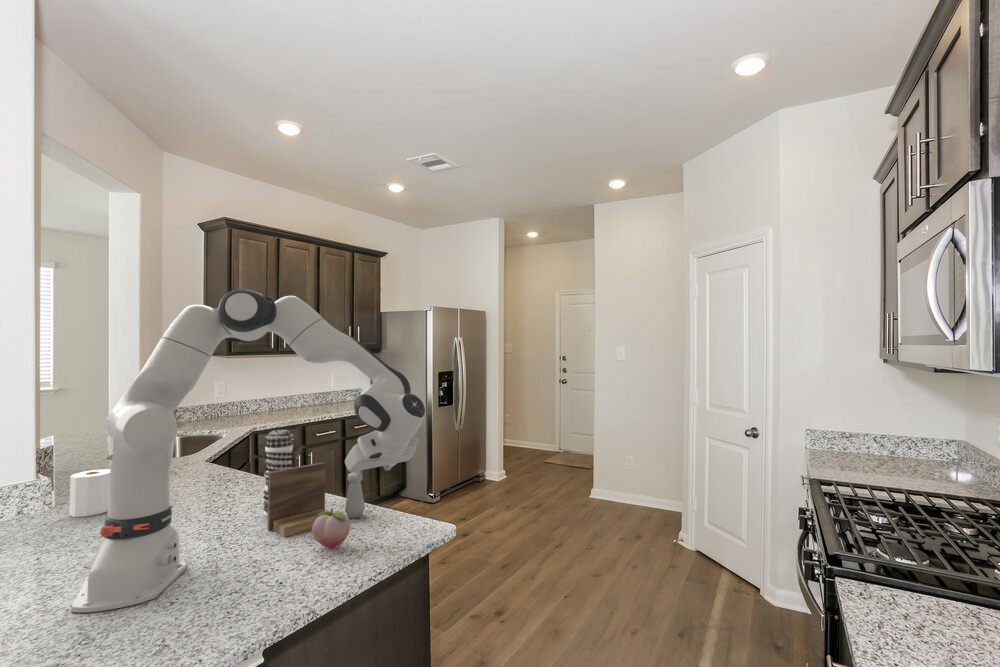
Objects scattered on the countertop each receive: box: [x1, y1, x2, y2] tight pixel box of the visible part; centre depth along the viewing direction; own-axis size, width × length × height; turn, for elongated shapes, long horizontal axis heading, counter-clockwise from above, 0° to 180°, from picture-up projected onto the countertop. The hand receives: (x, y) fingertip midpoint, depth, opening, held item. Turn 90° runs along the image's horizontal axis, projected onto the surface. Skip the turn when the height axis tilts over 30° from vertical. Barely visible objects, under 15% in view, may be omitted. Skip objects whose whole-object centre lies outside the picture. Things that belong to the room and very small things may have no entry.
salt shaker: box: [344, 472, 366, 520], centre depth 145 cm, size 6×6×13 cm
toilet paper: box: [68, 468, 111, 518], centre depth 150 cm, size 10×10×12 cm
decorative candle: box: [262, 429, 296, 517], centre depth 149 cm, size 9×9×25 cm
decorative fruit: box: [311, 508, 351, 549], centre depth 121 cm, size 9×8×10 cm
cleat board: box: [267, 461, 326, 538], centre depth 137 cm, size 9×16×16 cm, turn 136°
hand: (371, 471), depth 138 cm, fingers open, 8 cm apart
